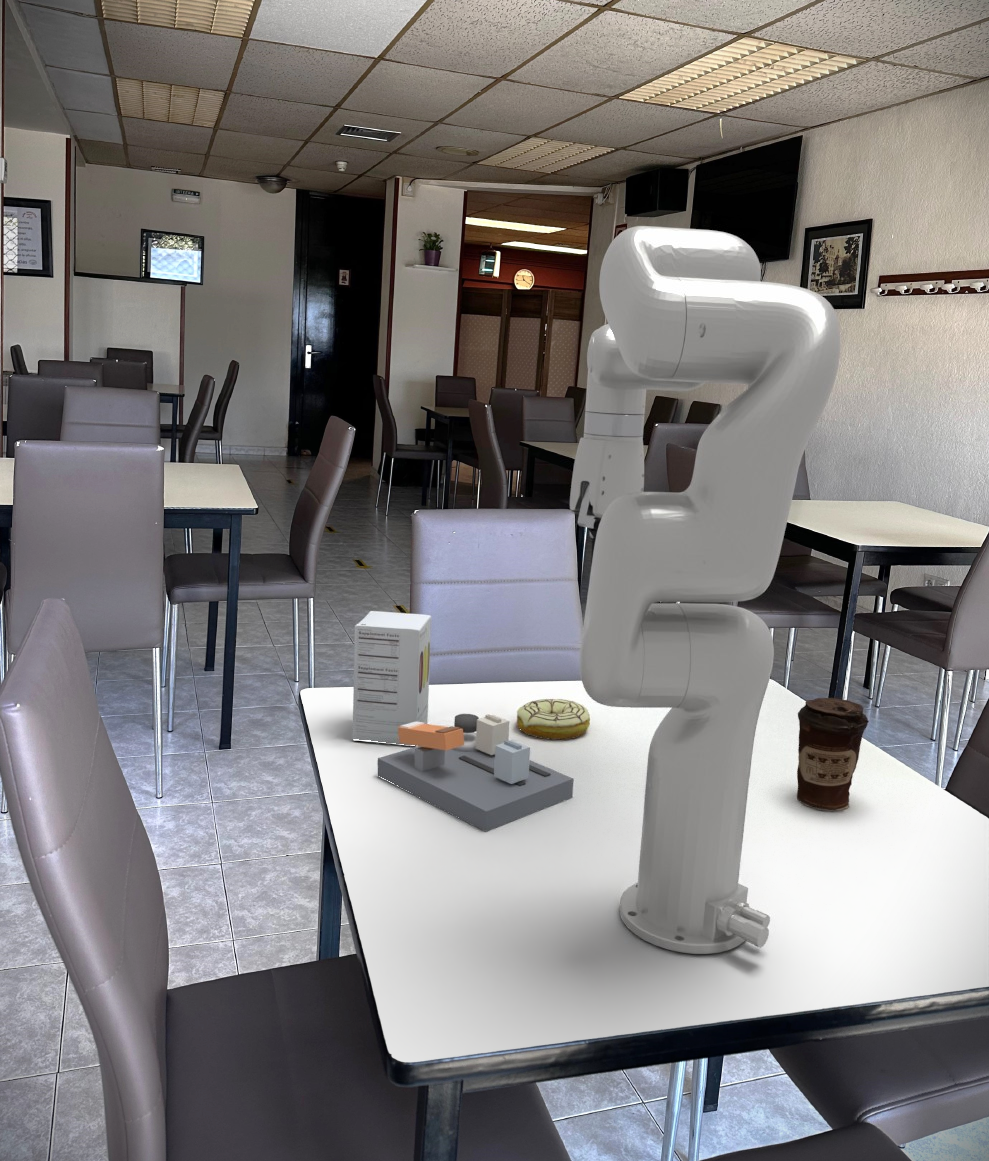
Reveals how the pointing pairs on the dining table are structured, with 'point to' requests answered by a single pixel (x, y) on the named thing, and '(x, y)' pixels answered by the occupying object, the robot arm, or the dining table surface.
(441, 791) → the console
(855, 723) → the coffee cup
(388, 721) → the supplement box
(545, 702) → the decorated donut
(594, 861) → the dining table surface
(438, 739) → the rocker switch
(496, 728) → the ivory knob
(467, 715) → the push button
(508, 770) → the slate knob
